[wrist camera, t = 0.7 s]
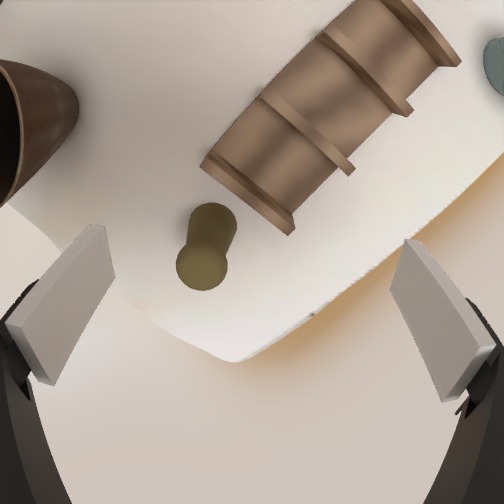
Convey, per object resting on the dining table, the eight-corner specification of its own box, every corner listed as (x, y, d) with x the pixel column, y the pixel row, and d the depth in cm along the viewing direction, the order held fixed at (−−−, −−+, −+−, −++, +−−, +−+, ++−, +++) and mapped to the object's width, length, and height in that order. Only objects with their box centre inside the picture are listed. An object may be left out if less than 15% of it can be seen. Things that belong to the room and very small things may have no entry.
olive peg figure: (181, 232, 40) (159, 283, 30) (202, 194, 37) (183, 236, 28) (222, 253, 41) (213, 308, 32) (245, 217, 39) (242, 266, 29)
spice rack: (206, 155, 35) (199, 166, 31) (371, -13, 23) (387, -24, 19) (284, 217, 39) (287, 236, 34) (439, 61, 27) (461, 61, 23)
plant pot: (60, 32, 26) (-29, 28, 12) (129, 104, 31) (50, 127, 18) (4, 118, 31) (-77, 150, 17) (62, 185, 36) (-12, 243, 23)
